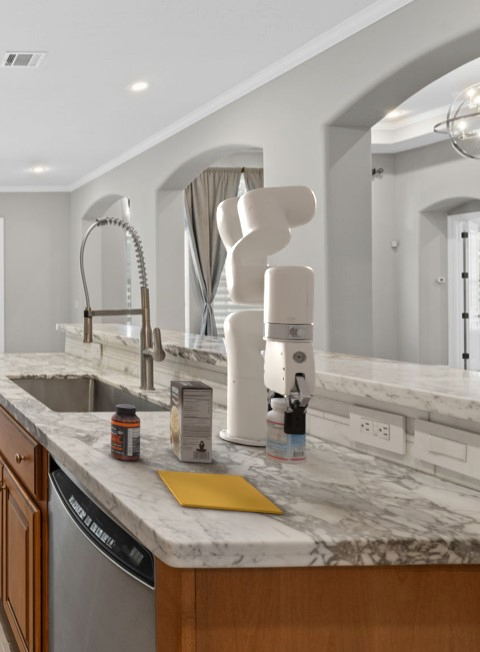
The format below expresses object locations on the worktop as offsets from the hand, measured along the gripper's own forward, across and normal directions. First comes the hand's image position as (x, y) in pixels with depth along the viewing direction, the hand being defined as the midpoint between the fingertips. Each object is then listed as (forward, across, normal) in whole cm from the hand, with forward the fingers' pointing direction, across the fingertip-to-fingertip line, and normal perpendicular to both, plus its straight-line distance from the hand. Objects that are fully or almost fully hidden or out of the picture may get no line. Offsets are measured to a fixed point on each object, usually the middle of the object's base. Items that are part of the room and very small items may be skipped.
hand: (285, 428), depth 101 cm
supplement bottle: (+11, +11, +26) cm, 31 cm away
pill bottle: (+6, 0, 0) cm, 6 cm away
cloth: (+10, -7, +14) cm, 19 cm away
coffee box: (+11, +15, +12) cm, 22 cm away
